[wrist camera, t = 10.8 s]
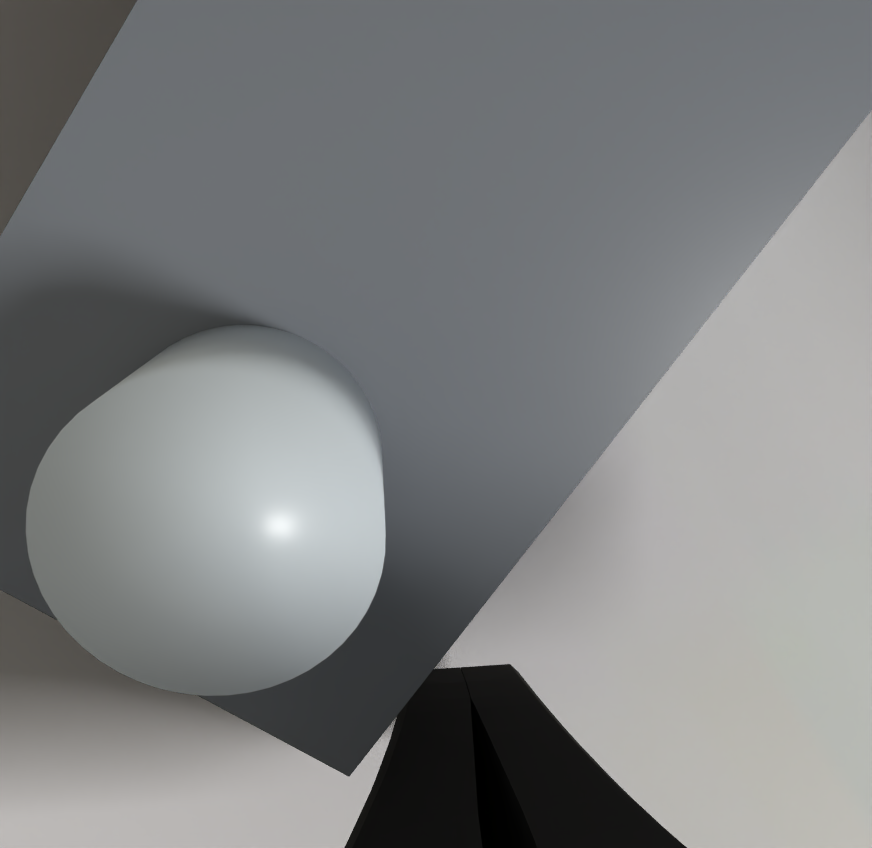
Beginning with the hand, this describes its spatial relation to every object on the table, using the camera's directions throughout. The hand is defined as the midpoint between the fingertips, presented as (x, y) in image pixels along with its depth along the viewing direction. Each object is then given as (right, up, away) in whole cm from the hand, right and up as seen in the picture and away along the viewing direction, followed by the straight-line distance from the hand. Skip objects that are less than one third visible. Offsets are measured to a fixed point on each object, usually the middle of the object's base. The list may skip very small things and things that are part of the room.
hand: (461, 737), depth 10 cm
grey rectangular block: (0, +7, -1) cm, 7 cm away
